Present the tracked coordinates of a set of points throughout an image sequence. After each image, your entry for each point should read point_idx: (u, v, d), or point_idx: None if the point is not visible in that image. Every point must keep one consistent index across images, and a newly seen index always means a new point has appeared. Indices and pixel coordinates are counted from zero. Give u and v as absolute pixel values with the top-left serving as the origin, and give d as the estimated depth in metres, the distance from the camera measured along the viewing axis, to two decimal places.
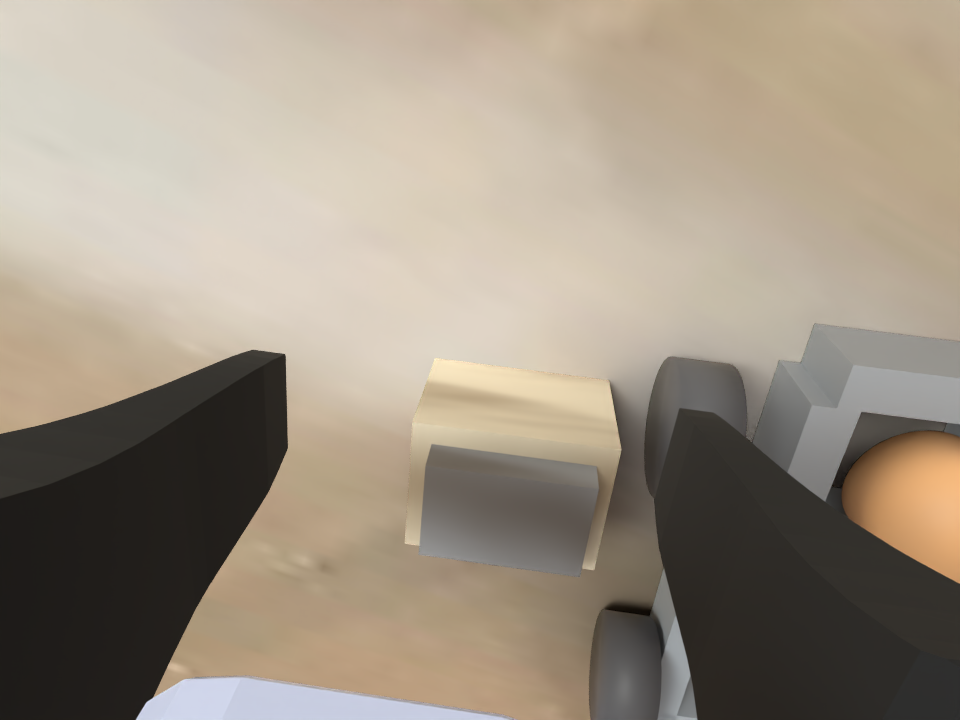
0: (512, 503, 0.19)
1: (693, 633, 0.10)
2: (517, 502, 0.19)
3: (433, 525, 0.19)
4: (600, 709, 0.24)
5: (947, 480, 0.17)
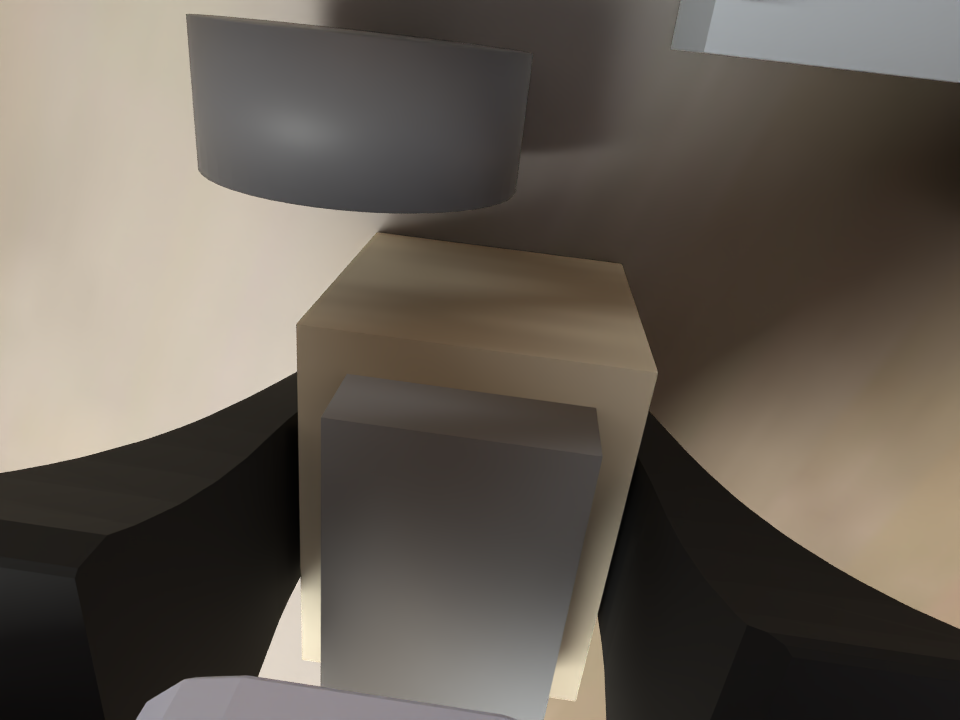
0: (388, 579, 0.09)
1: (607, 620, 0.10)
2: (384, 570, 0.08)
3: (462, 705, 0.09)
4: None
5: None
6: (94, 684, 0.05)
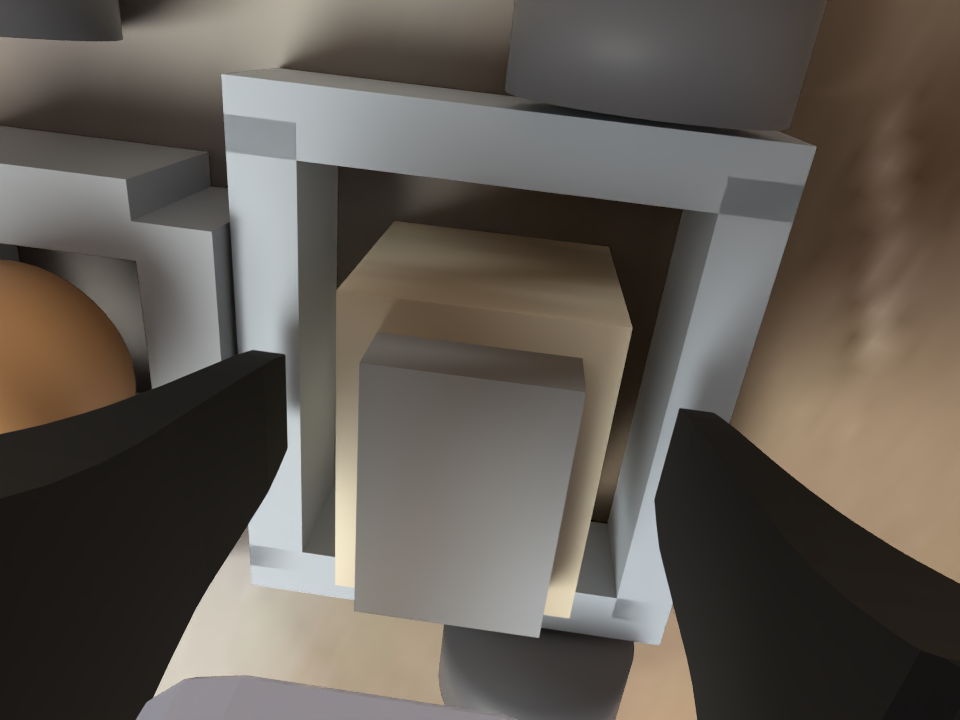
0: (412, 501, 0.10)
1: (693, 633, 0.10)
2: (409, 493, 0.10)
3: (473, 612, 0.11)
4: None
5: None
6: None
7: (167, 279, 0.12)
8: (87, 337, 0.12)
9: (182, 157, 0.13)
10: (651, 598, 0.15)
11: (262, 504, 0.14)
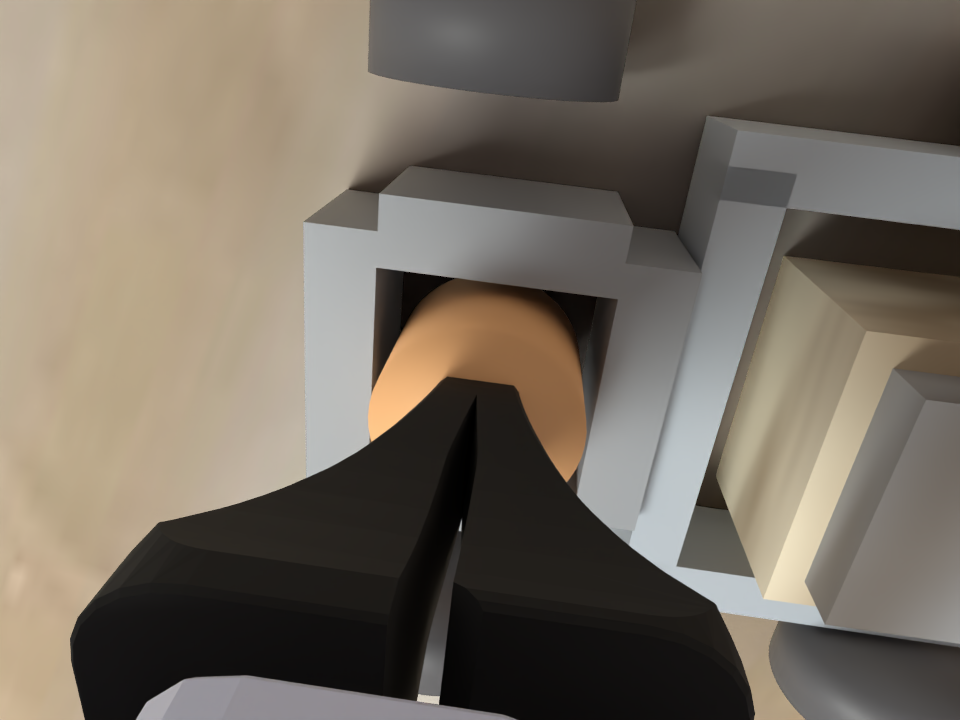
0: (925, 524, 0.11)
1: None
2: (925, 517, 0.11)
3: (944, 626, 0.12)
4: None
5: None
6: None
7: (643, 316, 0.13)
8: (573, 339, 0.14)
9: (615, 199, 0.14)
10: None
11: (650, 521, 0.15)
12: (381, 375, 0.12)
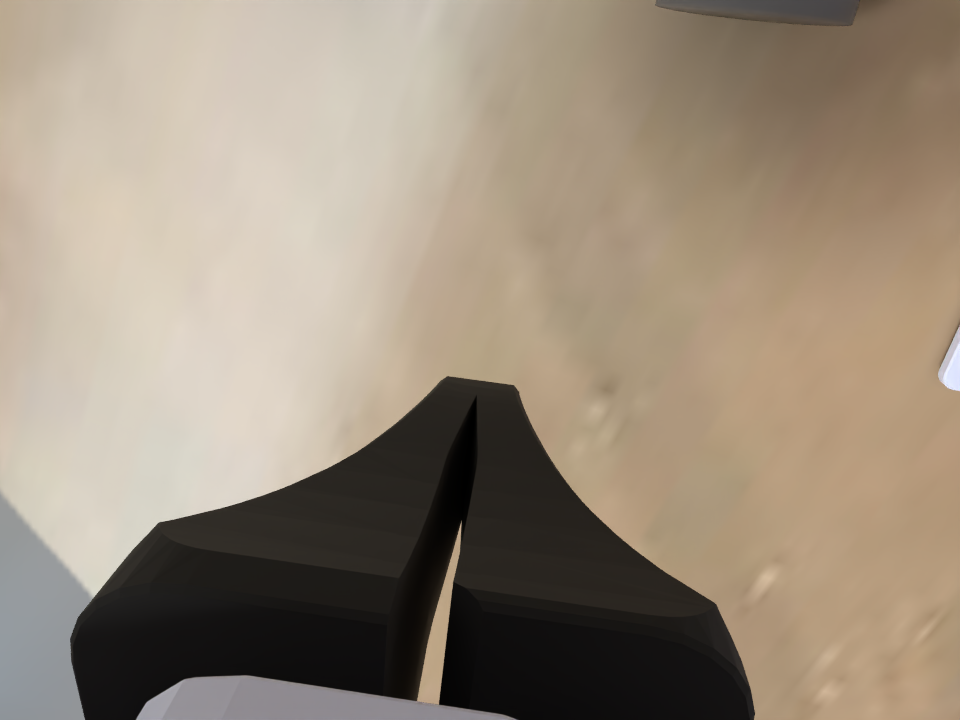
0: None
1: None
2: None
3: None
4: (782, 14, 0.14)
5: None
6: None
7: None
8: None
9: None
10: None
11: None
12: None
